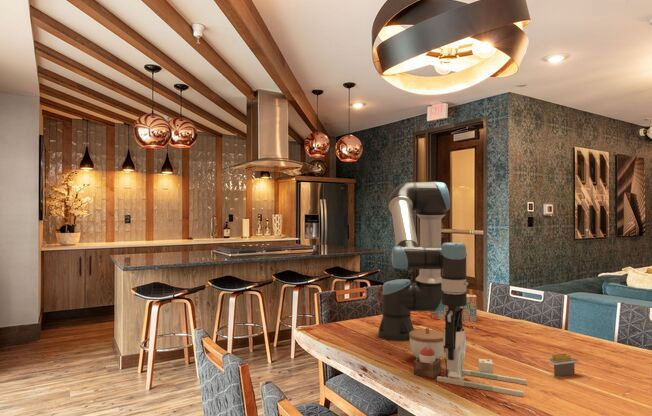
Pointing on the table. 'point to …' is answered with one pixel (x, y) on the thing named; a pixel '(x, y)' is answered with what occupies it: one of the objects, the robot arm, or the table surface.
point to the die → (486, 366)
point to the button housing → (427, 368)
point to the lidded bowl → (426, 341)
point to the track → (484, 386)
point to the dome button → (427, 355)
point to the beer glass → (460, 355)
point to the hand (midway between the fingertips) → (454, 366)
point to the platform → (563, 364)
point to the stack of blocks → (467, 312)
